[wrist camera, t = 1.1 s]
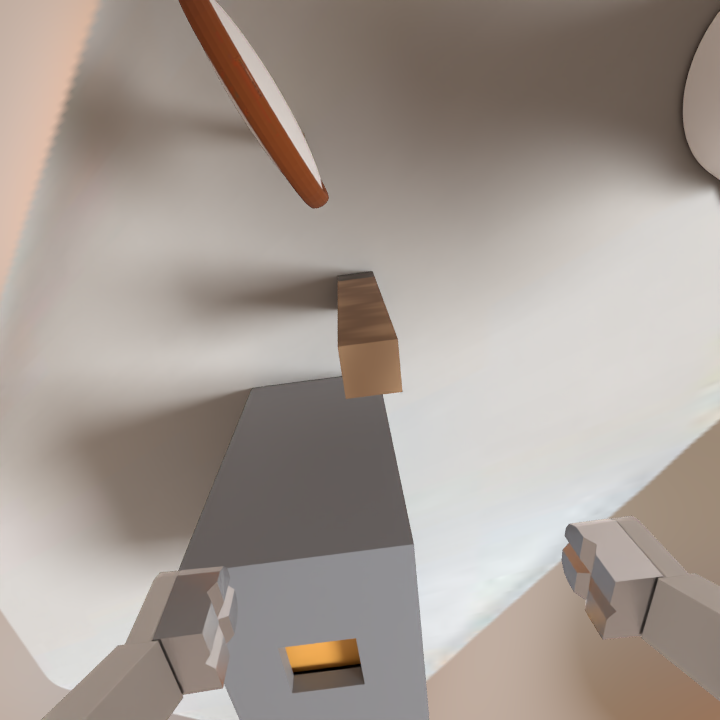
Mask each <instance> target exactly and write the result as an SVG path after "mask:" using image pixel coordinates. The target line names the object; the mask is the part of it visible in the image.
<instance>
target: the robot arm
mask: <svg viewBox="0 0 720 720" xmlns="http://www.w3.org/2000/svg"><path fill="white" fill-rule="evenodd" d="M683 123H684V130H685V135H686V139H687V142H688V145H689V147H690V149H691V151H692V153H693V155H694V157H695V158H696V160H697V161H698V162H699V163H700V165H701V166H702V167H703V168H704V169H706V170H707V171H708V172H709V173H711V174H712V175H714V176H715V177H716V178H718V179H719V180H720V11H719V13H718V14H717V16H716V17H715V18H714V20H713V21H712V23H711V25H710V26H709V28H708V29H707V31H706V33H705V35H704V36H703V38H702V40H701V42H700V44H699V46H698V49H697V51H696V53H695V56H694V58H693V61H692V64H691V67H690V70H689V73H688V77H687V81H686V86H685V92H684V99H683ZM565 537H566V539H567V540H568V542H569V543H568V544H567V546H566V547H565V548H564V549H563V552H562V564H563V568H564V573H565V575H566V578H567V580H568V582H569V584H570V586H571V588H572V589H573V591H574V592H575V593H576V594H578V595H579V596H580V597H582V598H583V599H585V600H586V606H585V611H586V613H587V615H588V616H589V618H590V620H591V621H592V623H593V624H594V626H595V628H596V630H597V631H598V633H599V635H600V636H601V638H602V639H615V638H624V637H635V636H642V637H641V638H642V639H643V640H644V641H645V642H647V643H648V644H649V645H650V646H652V647H653V648H654V649H655V650H657V651H658V652H659V653H660V654H662V655H663V656H664V657H665V658H667V659H668V660H669V661H670V662H672V663H673V664H674V665H675V666H676V667H678V668H679V669H680V670H681V671H683V672H684V673H685V674H687V675H688V676H689V677H691V679H693V680H694V681H695V682H696V683H698V684H699V685H700V686H701V687H703V688H704V689H705V690H706V691H708V692H709V693H710V694H711V695H713V696H714V697H715V698H716V699H718V700H719V701H720V586H718V585H717V584H715V583H712V582H711V581H709V580H707V579H705V578H703V577H701V576H699V575H698V574H688V572H686V570H685V569H684V568H683V567H682V566H681V565H680V564H679V563H678V562H677V561H676V560H675V558H674V557H673V556H672V555H671V554H670V553H669V552H668V551H667V550H666V549H665V548H664V547H663V545H662V544H661V543H660V542H659V541H658V540H657V539H656V538H655V537H654V536H653V535H652V534H651V533H650V532H649V530H648V529H647V528H646V527H645V526H644V525H643V524H642V523H641V522H640V521H639V520H638V519H637V518H635V517H633V516H628V517H620V518H611V519H601V520H594V521H586V522H579V523H571V524H569V525H568V526H567V527H566V531H565ZM229 580H230V574H229V571H228V568H227V567H226V566H221V567H210V568H199V569H189V570H180V571H171V572H161V573H159V574H158V576H157V577H156V578H155V579H154V581H153V583H152V585H151V588H150V590H149V592H148V594H147V596H146V599H145V601H144V603H143V605H142V608H141V610H140V612H139V614H138V616H137V619H136V621H135V623H134V625H133V628H132V630H131V632H130V634H129V637H128V639H127V641H126V643H125V645H118V646H117V647H116V648H115V649H114V650H113V651H112V652H111V653H110V654H109V655H108V656H107V657H106V658H105V659H104V660H103V661H101V662H100V663H99V664H98V665H97V666H96V667H95V668H94V669H93V670H92V671H91V672H90V673H89V674H88V675H87V676H86V677H85V678H84V679H83V680H82V681H81V682H80V683H79V684H78V685H77V686H76V687H75V688H74V689H72V690H71V691H70V692H69V693H68V694H67V695H66V696H65V697H64V698H63V699H62V700H61V701H60V702H59V703H58V704H57V705H56V706H55V707H54V708H53V709H52V710H51V711H50V712H49V713H48V714H47V715H46V716H45V717H43V718H42V720H168V718H169V717H170V715H171V714H172V713H173V711H174V710H175V708H176V707H177V706H178V704H179V703H180V701H181V700H182V698H183V695H184V694H190V693H197V692H203V691H209V690H215V689H222V688H223V685H224V681H225V676H226V672H227V667H228V662H229V658H230V654H229V651H228V648H227V645H226V644H227V643H228V642H229V641H230V639H231V638H232V637H233V636H234V634H235V629H236V624H237V613H238V604H237V597H236V593H235V590H234V589H233V588H231V587H230V586H228V584H229Z"/></svg>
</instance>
